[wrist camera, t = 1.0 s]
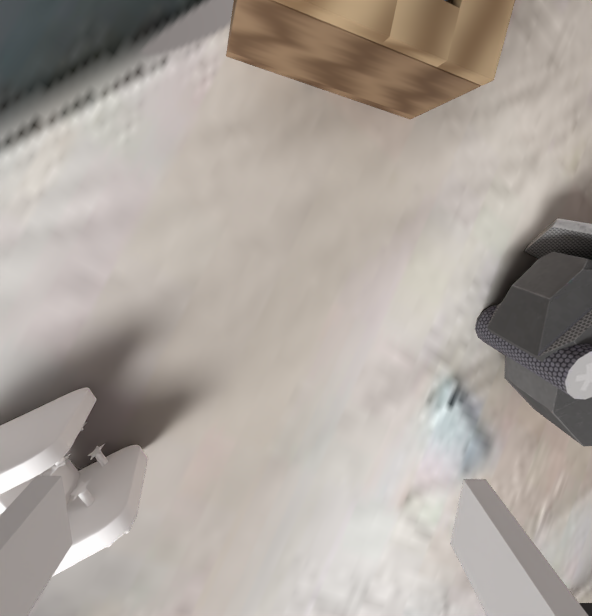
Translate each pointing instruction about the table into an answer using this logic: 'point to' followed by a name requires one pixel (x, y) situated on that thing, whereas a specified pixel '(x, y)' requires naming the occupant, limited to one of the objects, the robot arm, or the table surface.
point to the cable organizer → (73, 473)
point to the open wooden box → (337, 59)
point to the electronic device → (550, 328)
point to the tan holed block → (425, 29)
